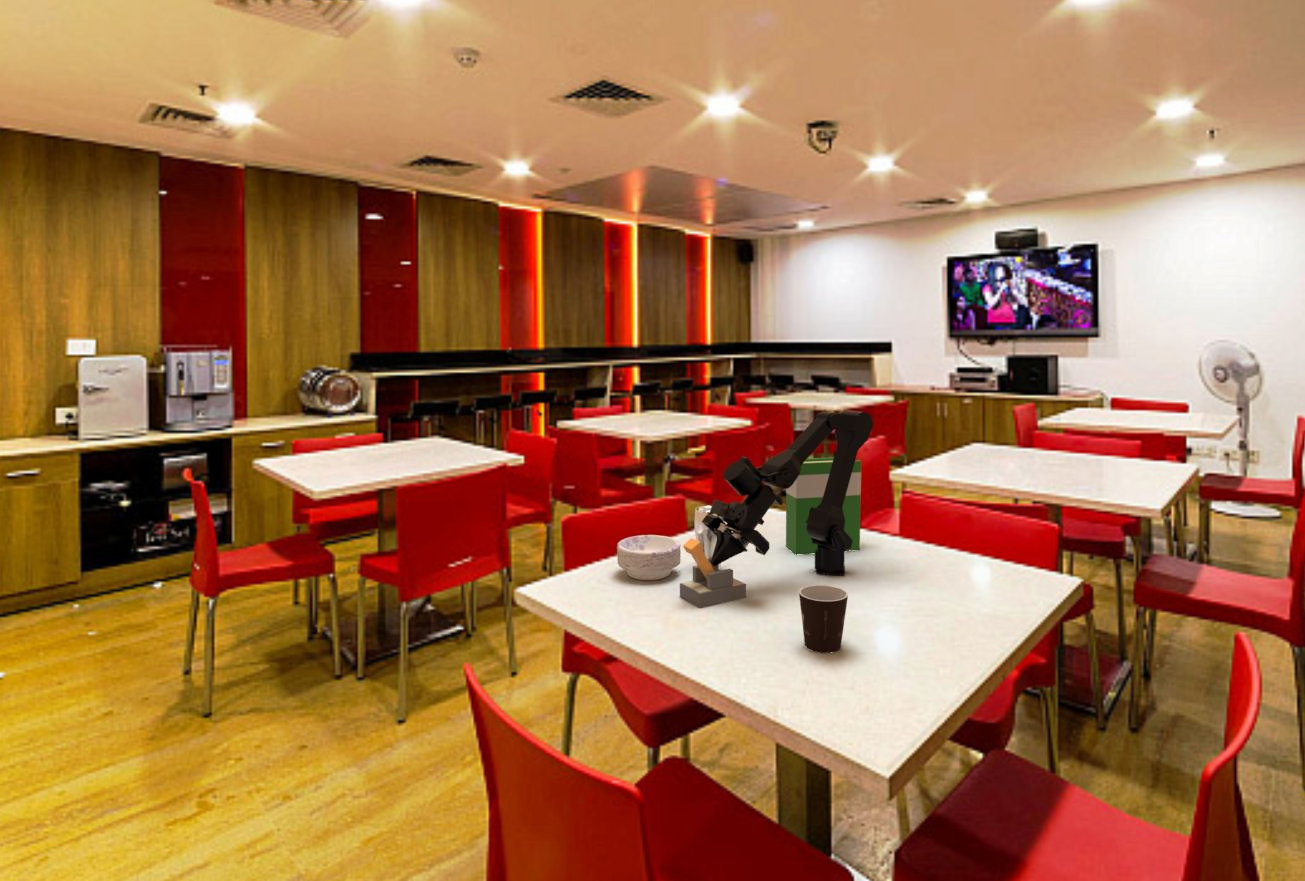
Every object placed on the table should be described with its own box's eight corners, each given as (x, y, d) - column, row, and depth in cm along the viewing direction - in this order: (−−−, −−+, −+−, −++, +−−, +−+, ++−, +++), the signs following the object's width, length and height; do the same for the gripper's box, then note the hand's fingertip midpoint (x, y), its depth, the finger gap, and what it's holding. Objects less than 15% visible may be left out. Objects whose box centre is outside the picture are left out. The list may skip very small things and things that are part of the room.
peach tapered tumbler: (721, 573, 175) (721, 512, 173) (693, 571, 176) (692, 511, 174) (724, 564, 182) (724, 505, 180) (697, 563, 183) (696, 505, 181)
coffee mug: (809, 632, 138) (809, 582, 137) (853, 642, 133) (854, 590, 132) (783, 654, 129) (784, 600, 127) (830, 666, 124) (831, 609, 123)
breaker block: (725, 586, 165) (725, 559, 164) (746, 597, 158) (746, 568, 157) (680, 596, 159) (679, 567, 158) (699, 607, 152) (699, 577, 151)
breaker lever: (713, 575, 160) (691, 537, 156) (722, 579, 157) (700, 541, 153) (705, 582, 159) (682, 545, 156) (714, 587, 156) (691, 549, 152)
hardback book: (847, 543, 199) (849, 456, 196) (859, 550, 192) (861, 460, 188) (785, 547, 196) (786, 459, 193) (795, 555, 189) (796, 463, 185)
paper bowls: (668, 587, 165) (667, 554, 164) (607, 581, 171) (606, 548, 170) (689, 568, 179) (689, 537, 178) (632, 562, 185) (632, 532, 184)
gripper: (708, 479, 166) (667, 533, 162) (758, 493, 150) (714, 553, 146) (736, 508, 171) (698, 561, 167) (788, 525, 155) (746, 584, 151)
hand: (712, 564), depth 158 cm, fingers closed
